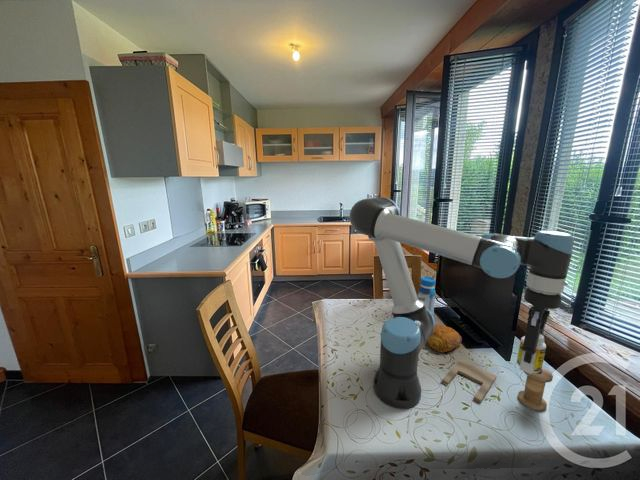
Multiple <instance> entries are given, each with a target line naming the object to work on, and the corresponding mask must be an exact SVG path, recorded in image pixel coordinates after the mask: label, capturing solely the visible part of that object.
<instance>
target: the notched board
mask: <svg viewBox="0 0 640 480" xmlns="http://www.w3.org/2000/svg"><path fill="white" fill-rule="evenodd" d="M458 374H460V375H461V376H464V377H466V378H467V379H470V380H471V381H474V382H475V383H478V384H480V385H481V386H480V387H479V388H478V390H477V391H476V393H475V394H474V396H473V401H475V402H477V403H479V404H481V403H482V402H483V400H484V399H485V397H486V395H487V394H488V392H489V391H490V389H491V387H492V386H493V384H494V383H495V381H496V380H497V375H495V374H493V373H492V372H489V371H487V370H485V369H482V368H480V367H478V366H476V365H473V364H471V363H469V362H467V361H466V360H463V359H459V360H458V361H457V363H456V364H455V365H454V366H453V367H452V368H451V369H450V370H449V371H448V372H447V373H446V374H445V376H444V377H443V378H442V379H441V383H442V384H444V385H446V386H449V384H450V383H451V382H452V381H453V380H454V378H456V376H457V375H458Z"/></svg>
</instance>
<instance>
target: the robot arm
mask: <svg viewBox="0 0 640 480" xmlns="http://www.w3.org/2000/svg"><path fill="white" fill-rule="evenodd" d="M400 214H401V213H400V209H399V206H398V204H397V203H396V202H395V201H394V200H392V199H391V198H388V197H383V196H381V197H379V196H378V197H371V198H363V199H361V200H358V201H357V202H355V203H354V204H353V206H352V207H351V209H350V211H349V221H350V225H351V226H352V227H353V229H354V230H355V232H358V233H359V234H362V235H364V236H368V240H370V241H372V242H373V243H374V246H375V249H376V251H377V255H378V257H379V261H380V264H381V268H382V270H383V273H384V277H385V281H386V283H387V286H388V290H389V292H390V295H391V296H390V297H391V299H392V302H393V306H392V309H391V313H392V317H390V318H389V319H387V320H385V321H384V323H383V324H382V326H381V331H380V348H379V349H380V352H379V366H378V368H377V370H376V371H375V375H374V377H373V382H372V389H373V391H374V394H375V396H376V397H377V398H378V399H379V400H380V401H381V402H383V404H386V405H388V406H390V407H393V408H397V409H410V408H414V407H415V406H417V405H418V404H419V403H420V401H421V398H422V387H421V386H422V385H421V383H420V379H419V375H418V365H419V356H420V353H421V351H422V350H423V348H424V346H425V345H427V344H426V342H427V341H428V339H429V338H430V337H431V335H432V333H433V330H434V326H435V325H436V324H435V319H434V314H433V315H432V314H431V312H430V311H429V310H427V309H426V308H425V305H424V302H422V301H420V300H419V299H418V297H417V296H418V293H417V292H416V288H415V286H414V282H413V279H412V276H411V273H410V269H409V267H408V263H407V260H406V257H405V254H404V251H403V247H402V244H404V245H407V246H409V247H414V248H416V249H418V250H419V249H420V250H422V251H426V252H428V253H432V254H435V255H438V256H441V257H444V258H448V259H451V260H454V261H457V262H460V263H462V264H467V265H469V266H470V265H471V266H473V267H476V268H479V269H482V270H483V272H484V273H485V274H487V275H488V276H490V277H491V278H495V279H506V278H509V277H511V276H513V275H514V274H515V273H516V272H517V271H518V269H519V268H520V266H522V265H523V266H529V269H528V273H527V277H526V283H525V284H526V287H525V290H524V295H523V300H524V301H525V302H527V303H528V304H529V305H531V306H530V308H529V309H528V312H527V314H528V317H527V322H526V330H525V335H524V336H525V339H524V344H523V346H520V345H519V347H520V348H521V349H522V350H523V353H522V358H521V363H520V366H519V368H518V369H519V370H520V371H522V372H524V371H525V372H527V373H529V374H532V371H533V366H534V361H535V357H536V347H537V343H538V339H539V335H540V334H542V335H543V336H544V337H545V335H544V332H545V328H546V325H547V322H548V318H549V316H550V314H551V311H550V310H557V309H558V308H560V307H561V303H562V299H563V294H562V293H563V292H564V289H565V287H566V286H569V282H568V281H566V280H567V277H568V272H569V268H570V263H571V260H572V255H573V249H574V240H575V238H574V236H572V234H570V233H567V232H564V231H563V232H562V231H557V230H556V231H555V230H539V231H537V232H535V235H534V237H525V236H520V235H519V236H517V235H509V234H501V233H483V234H482V236H478V235H474V234H470V233H468V232H467V233H466V232H464V231H460V230H456V229H452V228H448V227H445V226H440V225H436V224H433V223H429V222H425V221H422V220H417V219H414V218H409V217H406V216H403V215H400ZM545 341H546V339H545V338H544V343H545Z"/></svg>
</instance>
